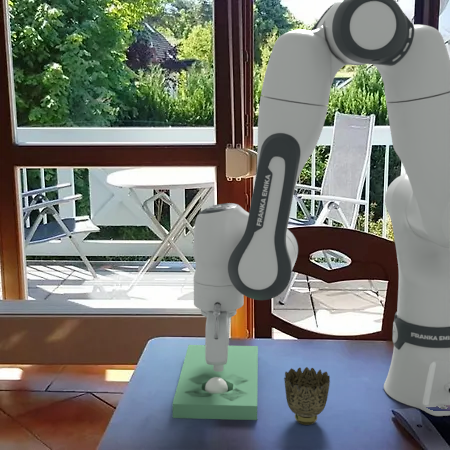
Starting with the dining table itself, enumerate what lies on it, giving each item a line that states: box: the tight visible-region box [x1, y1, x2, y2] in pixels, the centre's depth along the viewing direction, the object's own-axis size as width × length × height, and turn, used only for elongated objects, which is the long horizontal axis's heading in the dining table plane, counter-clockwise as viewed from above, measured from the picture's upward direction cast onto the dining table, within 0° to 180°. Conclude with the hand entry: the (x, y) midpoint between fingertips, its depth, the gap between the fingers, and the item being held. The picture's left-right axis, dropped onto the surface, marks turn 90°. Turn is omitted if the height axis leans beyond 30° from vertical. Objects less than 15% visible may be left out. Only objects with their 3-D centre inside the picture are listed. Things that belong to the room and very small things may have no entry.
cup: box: [283, 366, 331, 426], centre depth 111 cm, size 8×7×8 cm
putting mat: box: [171, 344, 259, 421], centre depth 125 cm, size 14×26×2 cm, turn 177°
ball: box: [205, 377, 228, 394], centre depth 119 cm, size 4×4×4 cm
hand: (218, 368), depth 123 cm, fingers closed
